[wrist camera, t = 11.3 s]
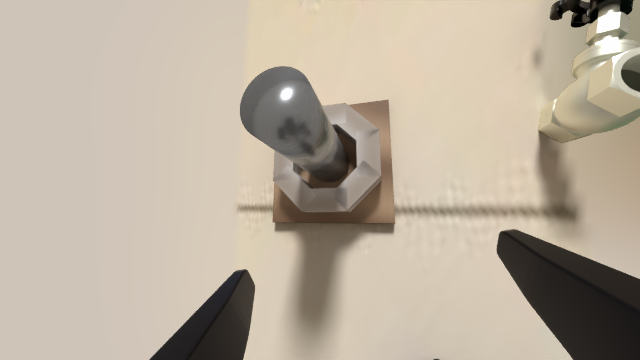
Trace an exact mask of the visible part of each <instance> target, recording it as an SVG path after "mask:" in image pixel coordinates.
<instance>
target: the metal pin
mask: <svg viewBox="0 0 640 360" xmlns="http://www.w3.org/2000/svg"><path fill="white" fill-rule="evenodd" d="M240 116H241V120H242V123H243V125H244V127H245V128H246V130H247V131H248V132H249V133H250V134H252V135H253V136H254V137H256V138H257V139H259V140H260V141H262V142H263V143H265V144H266V145H268V146H269V147H271V148H272V149H274V150H275V151H277V152H278V153H280V154H281V155H283V156H284V157H286V158H287V159H289V160H290V161H292V162H293V163H295V164H296V165H298V166H299V167H301V168H302V169H304V170H305V171H307V172H308V173H310V174H311V175H313V176H314V177H316V178H317V179H319V180H320V181H323V182H335V181H337V180H339V179H341V178H342V177H343V176H344V175H345V174H346V172H347V170H348V167H349V157H348V154H347V152H346V150H345V148H344V146H343V145H342V143H341V141H340V139H339V137H338V135H337V133H336V131H335V130H334V128H333V126H332V124H331V122H330V120H329V118H328V116H327V115H326V113H325V111H324V109H323V107H322V105H321V103H320V101H319V100H318V98H317V96H316V94H315V92H314V90H313V88H312V86H311V85H310V83H309V81H308V79H307V78H306V76H305V75H304V74H303V73H301V72H300V71H299V70H297V69H294V68H291V67H285V66H281V67H274V68H271V69H268V70H266V71H264V72H262V73H261V74H259V75H258V76H257V77H256V78H255V79H254V80H253V81H252V82H251V83H250V84H249V85H248V87H247V88H246V90H245V92H244V94H243V97H242V100H241V104H240Z"/></svg>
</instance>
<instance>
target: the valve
mask: <svg viewBox="0 0 640 360" xmlns="http://www.w3.org/2000/svg"><path fill="white" fill-rule="evenodd" d="M632 6H633V0H590V3H589V2H584V1H581V0H560V1H557V2H556V3H554V4H553V5H552V7H551V11H550V19H551V20H559V19H562V15H563V13H565V12H566V11H569V10H570V11H572V12H574V13H573V15H572V20H571V26H572V27H574V28H577V27H581V26H584V25H586V24H587V23H592V24H591V25H590V26H589V27H588V29H587V35H586V44H588V45H589V46H590V47H589V48H588V49H586V50H584V51H582V52H581V53H580V54H578V55H577V56H576V57H575V58H574V60H573V65H572V76H573V77H575V78H577V80H576V81H574V82H572V83H571V84H570V85H569V86H568V87H566V88H565V89H564V90H563V92H562V93H561V94H560V95H559V97H558V99H555V100H553V101H552V102H550V103H549V104H548V105H546V106H545V107H543V108H542V109H541V114H540V121H539V128H538V129H539V131H541V132H543V133H544V134H546V135H548V136H549V137H551V138H553V139H555V140H556V141H558V142H560V143H565V142H569V141H572V140H576V139H579V138H582V137H585V136H588V135H591V134H593V133H601V132H606V131H611V130H614V129H617V128H619V127H622V126H624V125H627V124H629V123H630V122H632V121H634V120H635V119H637V118H638V117H639V116H640V45H639V43H637V42H636V41H632V40H623V39H622V38H623V37H624V36H625V35H627V34H628V29H629V19H630V18H629V16H628V14H629V13H630V12H631V11H632Z"/></svg>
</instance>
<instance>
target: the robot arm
mask: <svg viewBox="0 0 640 360" xmlns="http://www.w3.org/2000/svg"><path fill="white" fill-rule="evenodd" d="M497 254H498V256H499V258H500V259H501V261H502V262H503V264H504V265H505V267H506V268H507V270H508V272H509V273H510V275H511V276H512V278H513V279H514V281H515V282H516V284H517V286H518V287H519V289H520V290H521V292H522V293H523V295H524V296H525V298H526V299H527V301H528V302H529V303H530V305H531V306H532V307H533V308H534V310H535V311H536V312H537V314H538V315H539V316H540V317H541V319H542V320H543V321H544V323H545V324H546V325H547V326H548V328H549V329H550V330H551V331H552V333H553V334H554V335H555V337H556V338H557V339H558V340H559V342H560V343H561V344H562V346H563V347H564V348H565V349H566V351H567V352H568V353H569V354H570V356H571V357H572V358H573V360H640V279H638V278H636V277H633V276H631V275H628V274H626V273H623V272H621V271H618V270H616V269H613V268H610V267H608V266H606V265H603V264H601V263H598V262H596V261H593V260H591V259H588V258H586V257H583V256H581V255H578V254H576V253H573V252H571V251H568V250H566V249H563V248H561V247H558V246H556V245H553V244H551V243H548V242H546V241H543V240H541V239H538V238H536V237H533V236H531V235H528V234H526V233H523V232H521V231H518V230H515V229H511V230H504V231H501V232H500V233H499V238H498V243H497ZM254 294H255V285H254V282H253V280H252V278H251V276H250V274H249V272H248V270H246V269H244V270H237V271H235V272H234V273H233V274H232V275H231V276H230V277H229V278H228V279H227V280H226V281H225V282H224V283H223V284H222V285H221V286H220V287H219V288H218V290H217V291H215V293H214V294H213V295H212V296H211V297H210V298H209V299H208V300H207V301H206V302H205V303H204V304H203V305H202V306H201V307H200V308H199V309H198V310H197V311H196V312H195V313H194V314H193V315H192V316H191V317H190V318H189V319H188V320H187V321H186V322H185V323H184V325H183V326H182V327H181V328H180V329H179V330H178V331H177V332H176V333H175V334H174V335H173V336H172V337H171V338H170V339H169V340H168V341H167V342H166V343H165V344H164V345H163V346H162V347H161V348H160V349H159V350H158V351H157V352H156V354H154V355H153V356H152V357H151V359H150V360H243V358H244V353H245V349H246V345H247V340H248V336H249V330H250V324H251V316H252V309H253V301H254ZM434 360H439V359H434Z"/></svg>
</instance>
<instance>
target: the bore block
mask: <svg viewBox="0 0 640 360" xmlns="http://www.w3.org/2000/svg"><path fill="white" fill-rule="evenodd" d="M322 107H323V109H324V111H325V113H326V115H327V116H328V118H329V120H330V122H331V124H332V126H333V128H334V130H335V131H336V133H337V135H338V137H339V139H340V141H341V143H342V145H343V146H344V148H345V150H346V152H347V154H348V157H349V167H348V170H347V172H346V174H345V175H344V176H343V177H342V178H341V179H339V180H337V181H335V182H323V181H320V180H319V179H317V178H316V177H314V176H313V175H311V174H310V173H308V172H307V171H305V170H304V169H302V168H301V167H299V166H298V165H296V164H295V163H293V162H292V161H290V160H289V159H287V158H286V157H284V156H283V155H281V154H280V153H278V152H277V151H275V155H274V176H273V181H274V182H275V183H274V204H273V222H306V223H395V214H394V195H393V177H392V158H391V139H390V121H389V102H388V100H382V101H375V102H367V103H360V104H352V105H347V104H346V103H342V104H335V105H327V106H322Z"/></svg>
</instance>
